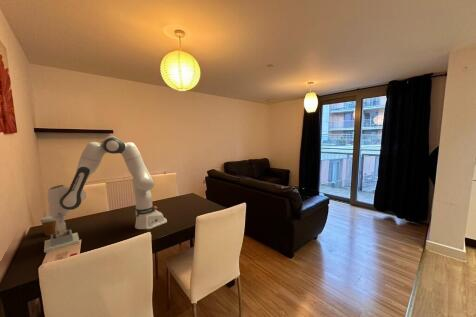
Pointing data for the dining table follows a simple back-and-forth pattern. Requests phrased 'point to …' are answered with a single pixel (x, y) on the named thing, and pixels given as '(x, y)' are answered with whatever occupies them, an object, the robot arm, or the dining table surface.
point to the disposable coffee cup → (48, 225)
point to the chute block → (63, 232)
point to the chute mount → (61, 241)
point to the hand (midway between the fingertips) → (61, 232)
